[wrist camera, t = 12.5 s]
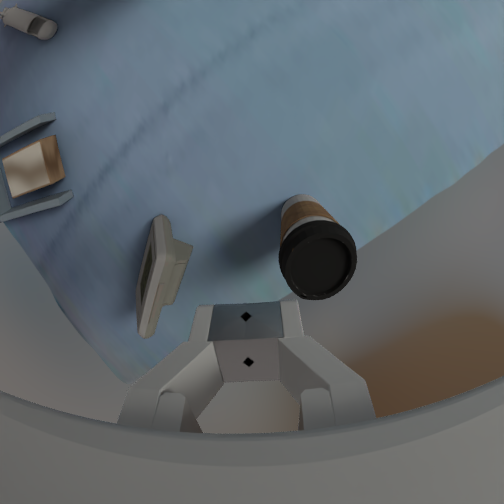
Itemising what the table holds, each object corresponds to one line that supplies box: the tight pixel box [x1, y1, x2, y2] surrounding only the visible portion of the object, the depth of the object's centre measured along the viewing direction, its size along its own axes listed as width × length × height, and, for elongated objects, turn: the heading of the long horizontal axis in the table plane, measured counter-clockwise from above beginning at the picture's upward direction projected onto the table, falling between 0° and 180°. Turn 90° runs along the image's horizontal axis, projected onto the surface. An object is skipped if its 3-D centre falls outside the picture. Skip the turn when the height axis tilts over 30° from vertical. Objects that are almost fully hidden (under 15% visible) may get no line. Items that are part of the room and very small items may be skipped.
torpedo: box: [0, 4, 57, 40], centre depth 22 cm, size 18×5×6 cm, turn 54°
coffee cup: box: [279, 194, 357, 300], centre depth 35 cm, size 8×8×15 cm
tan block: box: [2, 135, 65, 198], centre depth 35 cm, size 7×10×5 cm
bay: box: [0, 112, 74, 222], centre depth 36 cm, size 14×18×4 cm
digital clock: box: [136, 215, 193, 338], centre depth 41 cm, size 16×9×11 cm, turn 145°
